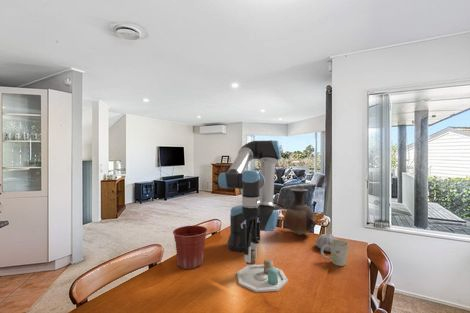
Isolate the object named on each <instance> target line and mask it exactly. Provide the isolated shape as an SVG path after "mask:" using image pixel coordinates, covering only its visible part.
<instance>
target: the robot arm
mask: <svg viewBox="0 0 470 313" xmlns="http://www.w3.org/2000/svg"><path fill="white" fill-rule="evenodd" d="M281 157H282V154H281V147H280V142H279V141H278V140H272V139H271V140H251V141H249V142H247V143H245V144H244V145H242V146H241V147H240V149H238V152H237V156H236V157H235V160H234V161H233V163H232V164H231V165H230V167H229V168H228V170H227V171H226V172H221V173H220V172H219V175H218V177H217V181H218V186H219V188H222V189H241V190H242V191H241V193H242V196H241V197H242V198H241V201H242V202H241V204H240V205H235V206H232V208H230V216H229V217H230V218H229V220H230V221H229V222H230V223H229V224H230V228H229V230H230V232H229V233H230V234H229V237H228V240H227V245H226V246H227V249H229V250H231V251H233V252H244V253H243V254H244V262H245V263H246V262H248V263H250V262H251V249H252V250H255V260H257V259H258V258H257V256H258V255H257V254H258V252H257V249H258V244H260V240H261V231H262V232H273V231H275V229H276V228H277V225H278V224H277V223H278V218H279V210H277V209H276V206H275V205H274V195H275V194H274V193H275V173H276V164H278V162H279V160H281ZM252 160H258V162H259V163H260V169H259V170H260V171H258V170H256V169H255V170H253V169H252V170H251V169H250V170H246V168H247V167H248V164H249V163H250V162H251V161H252Z"/></svg>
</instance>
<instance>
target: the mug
mask: <svg viewBox="0 0 470 313" xmlns="http://www.w3.org/2000/svg"><path fill="white" fill-rule="evenodd" d="M349 244H350V243H348V242H347V241H345V240H341V239H338V240H331V241H330V245H324V246H323V247H322V248H321V249H320V253H321V256H322V257H324V258H325V259H327V260H328V259H329V260H331V262H332V263H333V264H334V265H336V266H338V267H339V266H340V267H343V266H346V264H347V258H348V251H349ZM326 247H328V248H331V252H330V255H331V256H327V255H326V254H325V253H324V252H325V251H324V249H325V248H326Z"/></svg>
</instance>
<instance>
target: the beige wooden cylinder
mask: <svg viewBox="0 0 470 313" xmlns="http://www.w3.org/2000/svg"><path fill="white" fill-rule="evenodd" d="M263 264H264V273H265V274H267V275H268V269H269V268H273V267H274V260H272V259H267V258H266V259H264V260H263Z"/></svg>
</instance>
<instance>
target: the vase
mask: <svg viewBox="0 0 470 313" xmlns="http://www.w3.org/2000/svg"><path fill="white" fill-rule="evenodd" d="M289 191H291V192H293V194H294V201H293V203H292V204H291V205H289V206H288V208H286V210H285V213H284V226H285V227H286V229H288V230H289V231H290V232H292V233H295V234H296V235H298V236H302V235H304V234H307V233H310V232H312V231H314V230H315V227H316V219H315V218H316V217H315V213H314V212H313V210H312V209H311V207H310V206H309V205H307V202H305V201H304V194H305V193H306V192H308V191H309V189H307V188H290V189H289Z"/></svg>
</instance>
